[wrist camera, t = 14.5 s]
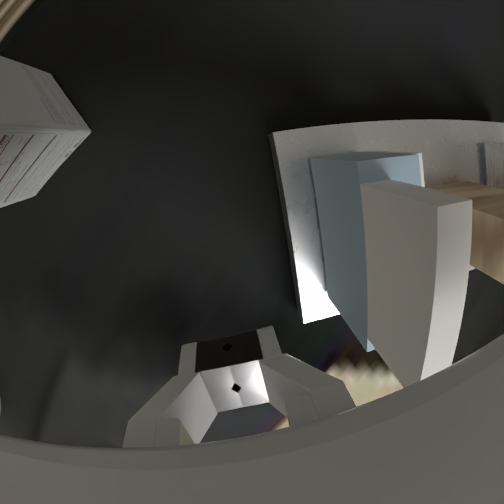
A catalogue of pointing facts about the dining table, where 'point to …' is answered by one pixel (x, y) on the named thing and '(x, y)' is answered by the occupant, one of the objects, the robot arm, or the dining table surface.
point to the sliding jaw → (394, 257)
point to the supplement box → (33, 130)
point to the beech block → (484, 225)
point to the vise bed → (370, 139)
